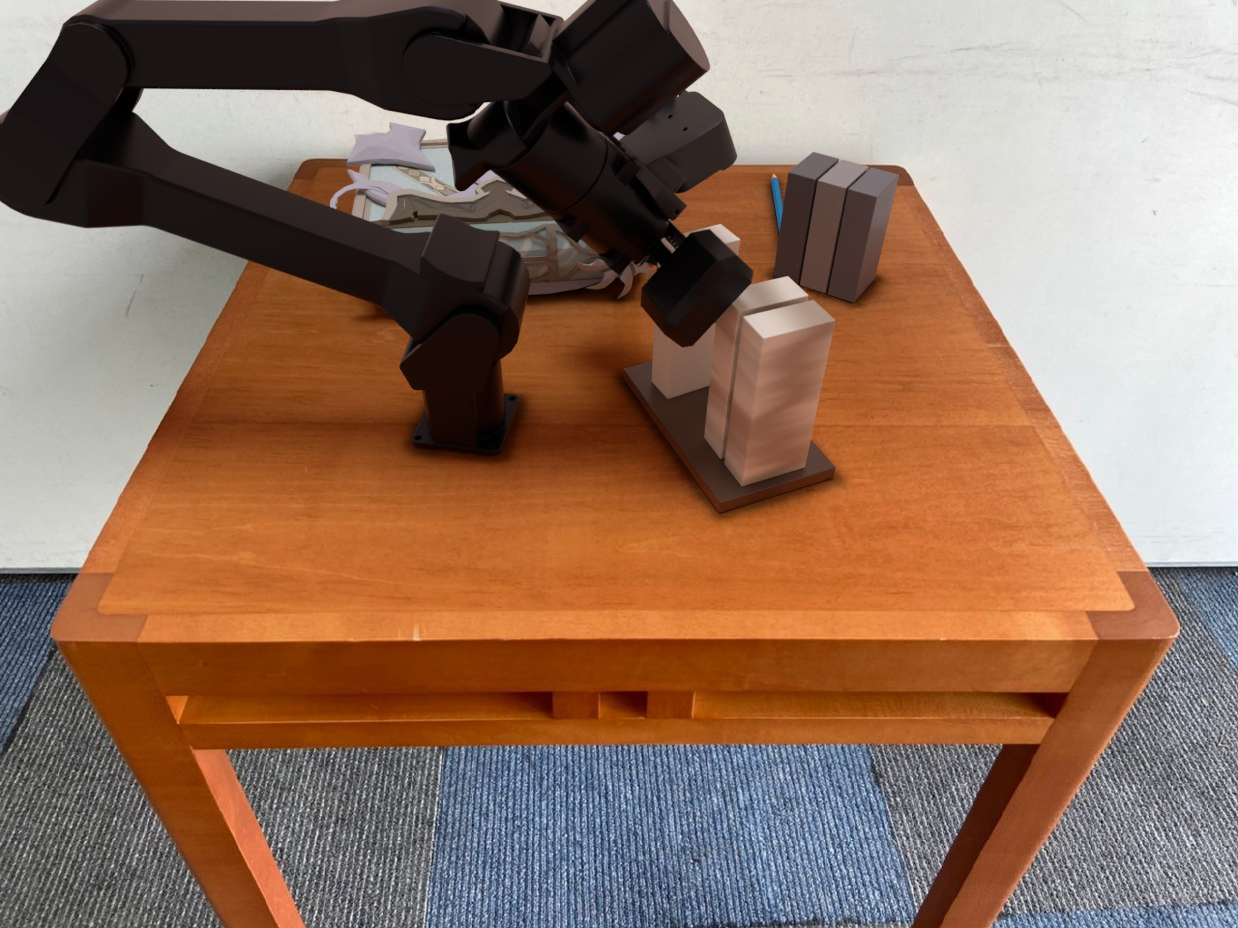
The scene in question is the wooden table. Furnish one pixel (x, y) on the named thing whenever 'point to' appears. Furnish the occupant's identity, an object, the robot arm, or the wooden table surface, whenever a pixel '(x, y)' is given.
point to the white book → (688, 364)
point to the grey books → (834, 225)
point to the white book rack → (751, 399)
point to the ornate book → (467, 208)
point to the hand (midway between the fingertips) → (714, 291)
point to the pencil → (777, 199)
